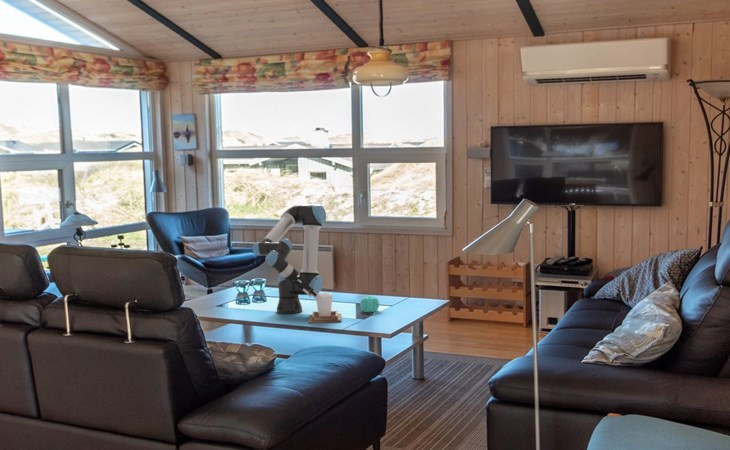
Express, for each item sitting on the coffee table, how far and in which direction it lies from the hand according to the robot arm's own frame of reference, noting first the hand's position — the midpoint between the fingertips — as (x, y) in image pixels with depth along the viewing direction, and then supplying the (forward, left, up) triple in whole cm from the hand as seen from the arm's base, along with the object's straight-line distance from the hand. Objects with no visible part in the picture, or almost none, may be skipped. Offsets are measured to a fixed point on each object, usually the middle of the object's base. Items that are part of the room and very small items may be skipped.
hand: (315, 297), depth 419 cm
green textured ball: (-21, +31, -14) cm, 40 cm away
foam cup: (-2, +4, -12) cm, 13 cm away
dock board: (-2, +5, -13) cm, 14 cm away
